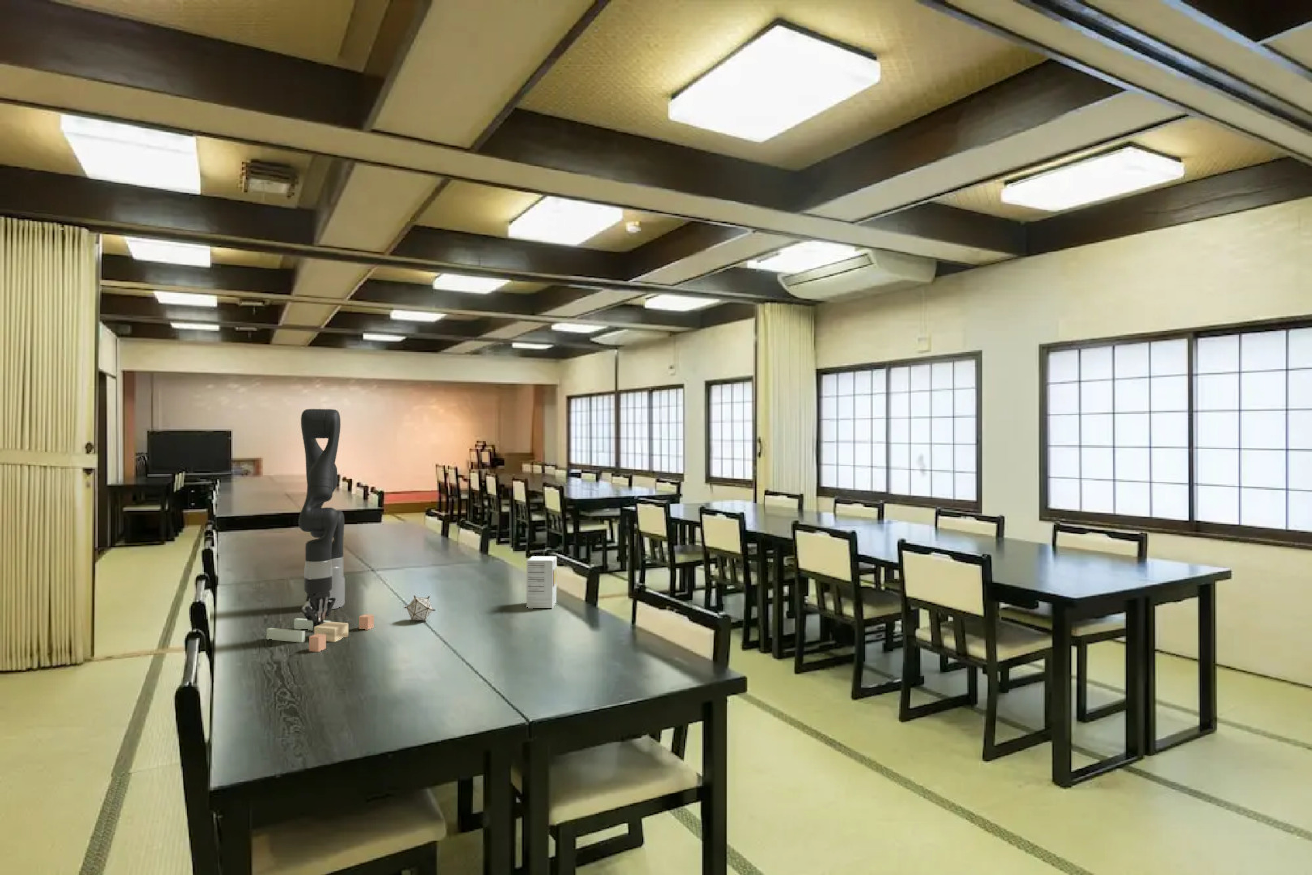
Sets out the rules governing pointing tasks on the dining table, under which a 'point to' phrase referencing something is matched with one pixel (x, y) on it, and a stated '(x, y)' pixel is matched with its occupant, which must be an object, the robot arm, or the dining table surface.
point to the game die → (419, 608)
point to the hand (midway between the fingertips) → (318, 633)
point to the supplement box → (541, 581)
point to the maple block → (332, 630)
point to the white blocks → (291, 631)
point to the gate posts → (319, 640)
